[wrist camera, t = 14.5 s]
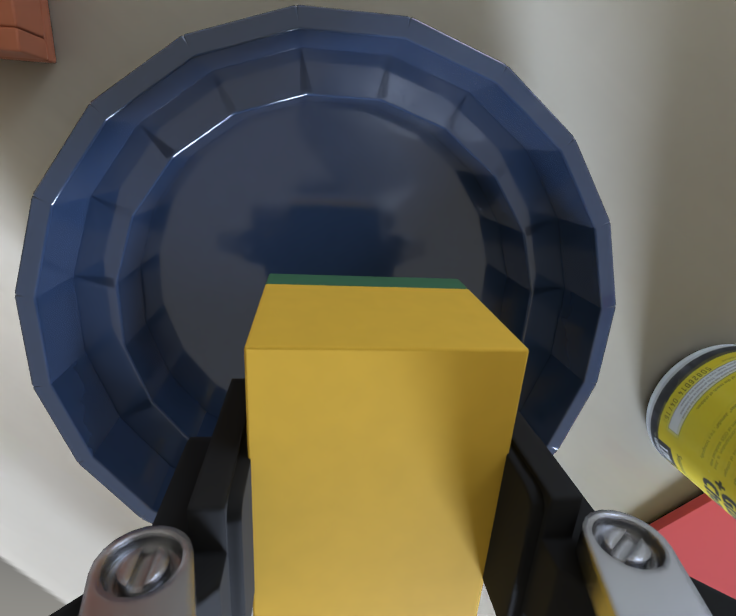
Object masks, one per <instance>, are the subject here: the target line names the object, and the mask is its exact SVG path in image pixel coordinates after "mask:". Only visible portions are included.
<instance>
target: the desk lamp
mask: <svg viewBox="0 0 736 616" xmlns="http://www.w3.org/2000/svg"><path fill="white" fill-rule="evenodd" d="M649 525H650V526H652V527H653V528H654V529H655V530H656V531H658V532H659V533H660V534H661V535H662V536H663V537H664V538H665V539H666V540H667V542H668V543H669V544H670V545H671V547H672V548H673V550H674V551H675V553H676V555H677V556H678V558H679V560H680V562H681V563H682V565H683V567H684V568H685V570H686V572H687V573H688V575H689V576H690V577H692V578H694V579H696V580H698V581H700V582H702V583H704V584H706V585H708V586H710V587H712V588H714V589H716V590H718V591H720V592H722V593H724V594H726V595H728V596H730V597H732V598H734V599H736V519H734V518H733V517H732V516H731V515H730V514H729V513H727V512H726V511H725V510H724V509H723V508H722V507H720V506H719V505H718V504H717V503H716V502H715V501H714V500H712V499H711V498H710V497H709V496H708V495H707V494H706V493H704V494H702V495H700V496H698V497H697V498H695V499H693V500H691V501H690V502H688V503H686V504H684V505H683V506H681V507H679V508H677V509H676V510H674V511H672V512H670V513H668V514H667V515H665V516H663V517H661V518H660V519H658V520H656V521H654V522H653V523H651V524H649Z"/></svg>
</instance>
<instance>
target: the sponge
mask: <svg viewBox="0 0 736 616" xmlns="http://www.w3.org/2000/svg"><path fill="white" fill-rule="evenodd" d="M528 353H529V351H528V348H527V347H526V346H525V345H524V344H523V343H522V342H521V341H520V340H519V339H518V338H517V337H516V336H515V335H514V334H513V333H512V332H511V331H510V330H509V329H508V328H507V327H506V326H505V325H504V324H503V323H502V322H501V321H500V320H499V319H498V318H497V317H496V316H495V315H494V314H493V313H492V312H491V311H490V310H489V309H488V308H487V307H486V306H485V305H484V304H483V303H482V302H481V301H480V300H479V299H478V298H477V297H476V296H475V295H474V294H473V293H472V292H471V291H470V290H468V289H467V287H466V286H465V285H464V284H463V283H462V282H461V281H460V280H458V279H443V278H408V277H373V276H338V275H303V274H269V276H268V279H267V282H266V285H265V288H264V290H263V293H262V296H261V299H260V302H259V305H258V308H257V311H256V314H255V317H254V320H253V323H252V326H251V329H250V332H249V335H248V338H247V341H246V344H245V347H244V362H245V391H246V421H247V450H248V458H249V459H251V484H252V516H253V548H254V580H255V593H254V600H253V616H477V611H478V606H479V601H480V596H481V591H482V586H483V579H482V578H483V573H484V568H485V563H486V558H487V553H488V548H489V542H490V537H491V532H492V527H493V522H494V517H495V512H496V507H497V502H498V496H499V491H500V486H501V481H502V476H503V471H504V466H505V461H506V456H507V454H509V449H510V444H511V439H512V434H513V429H514V424H515V419H516V414H517V409H518V403H519V398H520V393H521V388H522V383H523V378H524V373H525V368H526V363H527V358H528Z"/></svg>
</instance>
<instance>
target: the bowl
mask: <svg viewBox="0 0 736 616" xmlns="http://www.w3.org/2000/svg"><path fill="white" fill-rule="evenodd" d="M33 195H34V196H32V199H31V205H30V210H29V216H28V222H27V227H26V233H25V239H24V244H23V250H22V255H21V261H20V267H19V272H18V278H17V284H16V289H15V294H16V295H15V300H16V305H17V310H18V315H19V320H20V325H21V330H22V335H23V340H24V345H25V350H26V356H27V361H28V366H29V371H30V376H31V381H32V385H33V386H34V387H33V388H34V390H35V392H36V393H37V395H38V397H39V398H40V400H41V402H42V403H43V405H44V407H45V408H46V410H47V412H48V414H49V415H50V417H51V419H52V420H53V422H54V424H55V425H56V427H57V429H58V430H59V432H60V434H61V435H62V437H63V439H64V440H65V442H66V444H67V445H68V447H69V449H70V450H71V452H72V454H73V455H74V457H75V459H76V460H77V462H79V464H80V465H81V466H82V467H83V468H84V469H86V470H87V471H88V472H89V473H90V474H91V475H92V476H94V477H95V478H96V479H97V480H98V481H99V482H100V483H101V484H103V485H104V486H105V487H106V488H107V489H108V490H109V491H111V492H112V493H113V494H114V495H115V496H116V497H117V498H119V499H120V500H121V501H122V502H123V503H124V504H125V505H126V506H128V507H129V508H130V509H131V510H132V511H133V512H134V513H136V514H137V515H138V516H139V517H140V518H142V519H143V520H145V521H148V522H150V523H152V524H153V522H154V520H155V517H156V515H157V512H158V510H159V508H160V505H161V503H162V500H163V498H164V496H165V493H166V491H167V489H168V486H169V484H170V481H171V479H172V477H173V474H174V472H175V469H176V467H177V465H178V462H179V460H180V458H181V455H182V453H183V450H184V448H185V446H186V443H187V441H188V440H189V438H190V437H210V436H212V435H213V432H214V429H215V426H216V423H217V420H218V417H219V414H220V411H221V408H222V406H223V403H224V400H225V397H226V394H227V391H228V388H229V385H230V382H231V380H232V379H245V362H244V347H245V344H246V341H247V338H248V335H249V332H250V329H251V326H252V323H253V320H254V317H255V314H256V311H257V308H258V305H259V302H260V299H261V296H262V293H263V290H264V288H265V285H266V282H267V279H268V276H269V274H303V275H338V276H373V277H408V278H443V279H458V280H460V281H461V282H462V283H463V284H464V285H465V286H466V287H467V289H468V290H470V291H471V292H472V293H473V294H474V295H475V296H476V297H477V298H478V299H479V300H480V301H481V302H482V303H483V304H484V305H485V306H486V307H487V308H488V309H489V310H490V311H491V312H492V313H493V314H494V315H495V316H496V317H497V318H498V319H499V320H500V321H501V322H502V323H503V324H504V325H505V326H506V327H507V328H508V329H509V330H510V331H511V332H512V333H513V334H514V335H515V336H516V337H517V338H518V339H519V340H520V341H521V342H522V343H523V344H524V345H525V346H526V347H527V348H528V351H529V353H528V358H527V363H526V368H525V373H524V378H523V383H522V388H521V393H520V398H519V403H518V411H519V412H520V413H521V415H522V416H523V417H524V419H525V420H526V421H527V423H528V424H529V425H530V427H531V428H532V429H533V431H534V432H535V433H536V435H537V436H538V437H539V438H540V439H541V440H542V442H543V443H544V444H545V446H546V447H547V448H548V450H549V451H550V452H551V454H552V455H553V454H554V453H555V452H556V451H557V449H559V447H560V446H561V444H562V442H563V440H564V439H565V437H566V435H567V434H568V432H569V430H570V428H571V427H572V425H573V423H574V422H575V420H576V418H577V416H578V415H579V413H580V411H581V410H582V408H583V406H584V404H585V403H586V401H587V399H588V398H589V396H590V394H591V392H592V391H593V389H594V387H595V386H596V383H597V380H598V376H599V372H600V368H601V364H602V360H603V356H604V352H605V348H606V344H607V340H608V336H609V332H610V328H611V324H612V320H613V316H614V312H615V305H616V300H615V285H614V270H613V255H612V240H611V225H610V222H609V221H610V220H609V218H608V215H607V213H606V210H605V208H604V206H603V203H602V201H601V199H600V196H599V194H598V192H597V189H596V187H595V185H594V182H593V180H592V177H591V175H590V173H589V170H588V168H587V166H586V163H585V161H584V159H583V156H582V154H581V151H580V149H579V147H578V144H577V142H576V140H575V139H574V137H573V135H572V134H571V133H570V132H569V131H568V130H567V129H566V128H565V127H564V126H563V125H562V124H561V122H560V121H559V120H558V119H557V118H556V117H555V116H554V115H553V114H552V113H551V112H550V111H549V110H548V108H547V107H546V106H545V105H544V104H543V103H542V102H541V101H540V100H539V99H538V98H537V97H536V96H535V95H534V93H533V92H532V91H531V90H530V89H529V88H528V87H527V86H526V85H525V84H524V83H523V82H522V81H521V79H520V78H519V77H518V76H517V75H516V74H515V73H514V72H513V71H512V70H511V69H510V68H509V67H508V66H506V64H504V63H502V62H500V61H498V60H496V59H494V58H492V57H490V56H488V55H486V54H484V53H482V52H480V51H478V50H476V49H474V48H472V47H470V46H468V45H466V44H464V43H462V42H460V41H458V40H456V39H454V38H452V37H450V36H448V35H446V34H444V33H442V32H440V31H438V30H437V29H435V28H433V27H431V26H429V25H427V24H425V23H423V22H421V21H419V20H417V19H415V18H412V17H411V18H410V17H408V16H401V15H392V14H382V13H373V12H363V11H353V10H344V9H334V8H325V7H315V6H305V5H297V7H296V6H295V5H292V6H289V7H285V8H281V9H277V10H274V11H270V12H266V13H262V14H259V15H255V16H251V17H247V18H244V19H240V20H236V21H232V22H229V23H225V24H221V25H217V26H214V27H210V28H206V29H202V30H199V31H195V32H191V33H187V34H185V35H184V37H183V36H180V37H179V38H177V39H176V40H174V41H173V42H172V43H170V44H169V45H168V46H166V47H165V48H164V49H162V50H161V51H159V52H158V53H157V54H155V55H154V56H153V57H151V58H150V59H149V60H147V61H146V62H144V63H143V64H142V65H140V66H139V67H138V68H136V69H135V70H134V71H132V72H131V73H129V74H128V75H127V76H125V77H124V78H123V79H121V80H120V81H119V82H117V83H116V84H114V85H113V86H112V87H110V88H109V89H108V90H106V91H105V92H103V93H102V94H101V95H99V96H98V97H97V98H95V99H94V100H93V101H91V104H89V105H88V106H87V108H86V110H85V111H84V113H83V114H82V116H81V118H80V119H79V121H78V122H77V124H76V126H75V127H74V129H73V130H72V132H71V134H70V135H69V137H68V138H67V140H66V142H65V143H64V145H63V146H62V148H61V150H60V151H59V153H58V154H57V156H56V158H55V159H54V161H53V162H52V164H51V166H50V167H49V169H48V170H47V172H46V174H45V175H44V177H43V178H42V180H41V182H40V183H39V185H38V187H37V188H36V190H35V191H34V193H33Z"/></svg>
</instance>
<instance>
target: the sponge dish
mask: <svg viewBox="0 0 736 616" xmlns="http://www.w3.org/2000/svg"><path fill="white" fill-rule="evenodd" d="M0 59H8V60H20V61H32V62H44V63H56V56H55V49H54V42H53V35H52V28H51V21H50V14H49V7H48V0H0Z"/></svg>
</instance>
